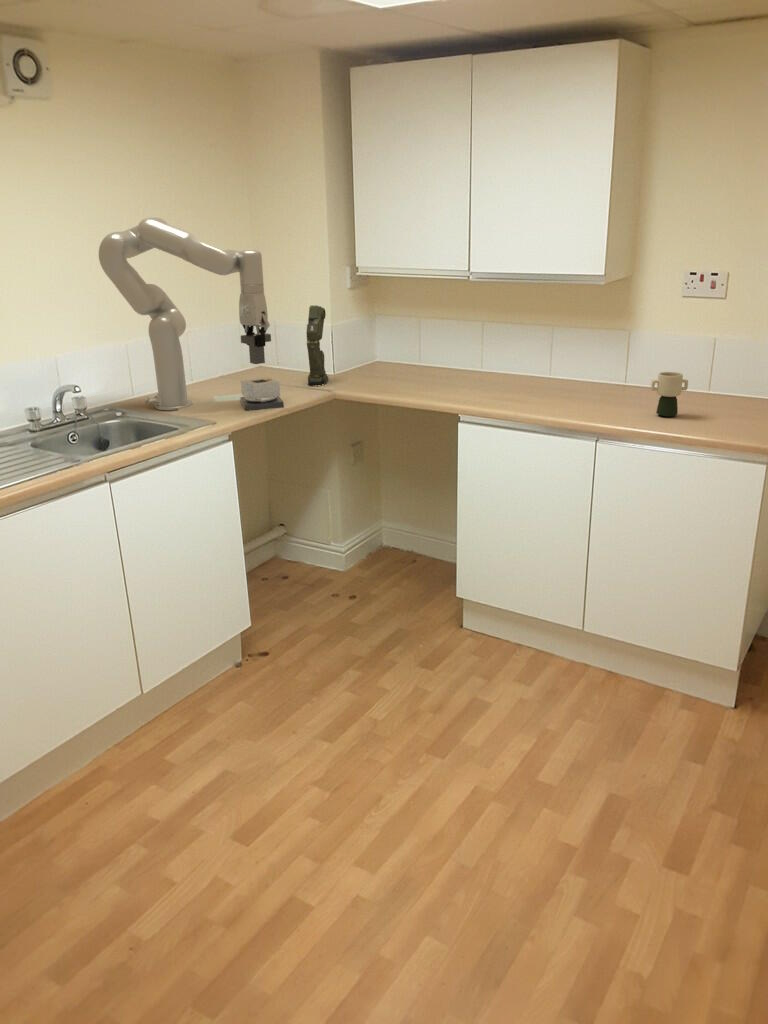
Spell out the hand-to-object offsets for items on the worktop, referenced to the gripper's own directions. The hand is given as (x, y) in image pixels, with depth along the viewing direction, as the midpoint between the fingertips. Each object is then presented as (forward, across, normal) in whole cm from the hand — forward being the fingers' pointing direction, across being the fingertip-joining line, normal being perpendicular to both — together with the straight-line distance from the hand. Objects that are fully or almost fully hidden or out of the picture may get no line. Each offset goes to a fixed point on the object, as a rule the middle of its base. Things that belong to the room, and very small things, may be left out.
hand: (256, 345), depth 278 cm
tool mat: (+21, -16, -1) cm, 26 cm away
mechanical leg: (+21, -12, +38) cm, 45 cm away
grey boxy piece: (+18, 0, 0) cm, 18 cm away
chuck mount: (+20, 0, 0) cm, 20 cm away
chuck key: (+6, 0, 0) cm, 6 cm away
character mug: (+19, +114, +69) cm, 135 cm away
